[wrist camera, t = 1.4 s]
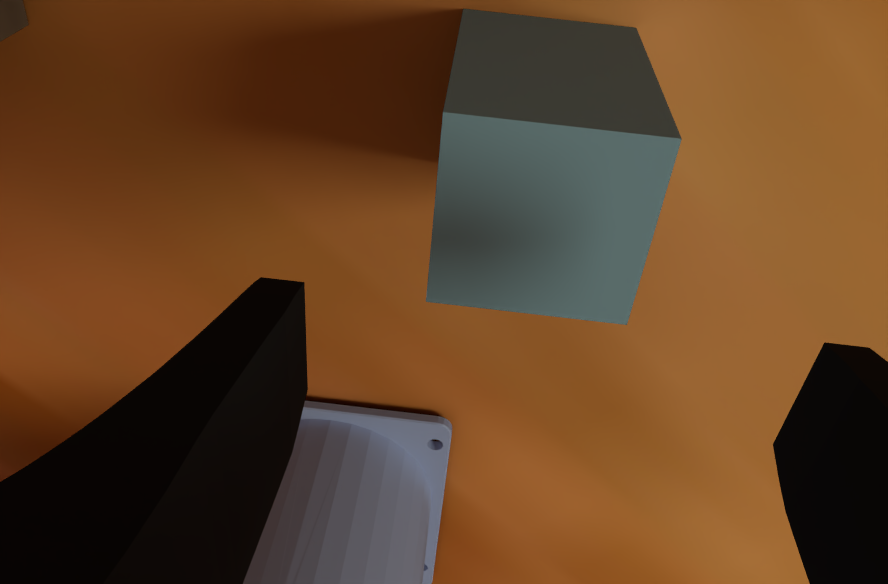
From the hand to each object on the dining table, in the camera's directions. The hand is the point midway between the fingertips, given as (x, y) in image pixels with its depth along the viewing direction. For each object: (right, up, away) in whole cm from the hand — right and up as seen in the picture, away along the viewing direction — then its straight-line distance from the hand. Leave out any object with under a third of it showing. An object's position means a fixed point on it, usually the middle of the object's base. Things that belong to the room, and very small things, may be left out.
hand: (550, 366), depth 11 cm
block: (+1, +6, +8) cm, 10 cm away
